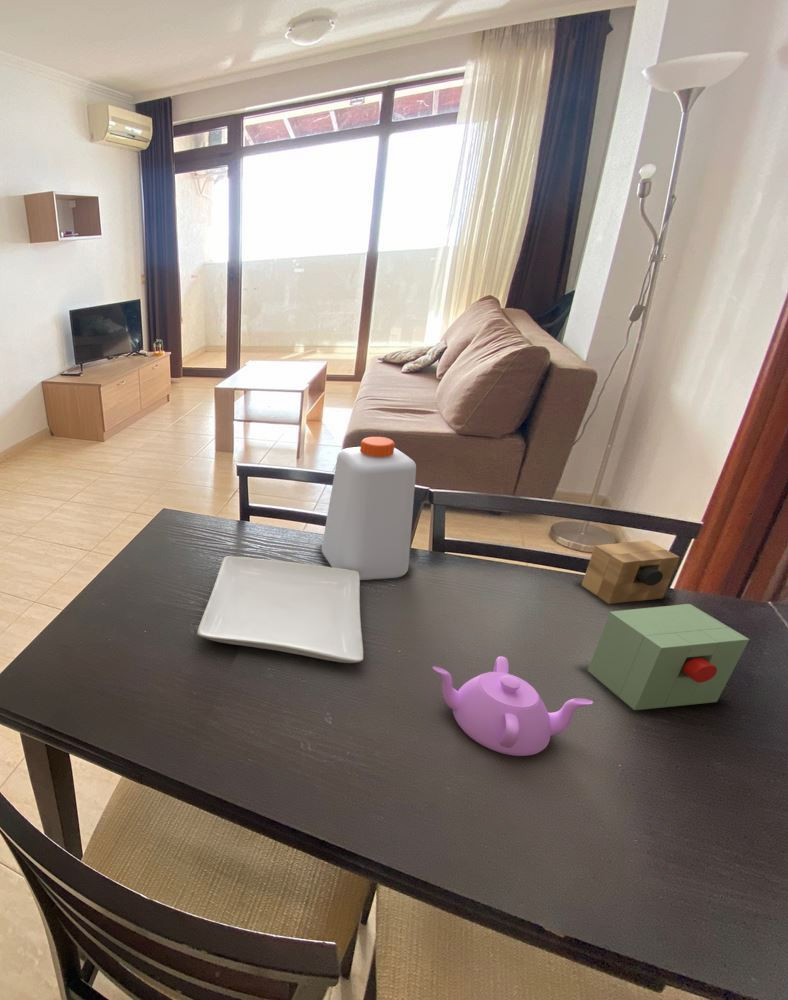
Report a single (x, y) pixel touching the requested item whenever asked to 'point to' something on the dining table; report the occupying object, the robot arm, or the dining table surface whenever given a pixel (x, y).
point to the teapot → (505, 711)
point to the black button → (650, 576)
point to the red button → (699, 670)
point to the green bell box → (664, 655)
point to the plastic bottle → (371, 510)
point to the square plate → (286, 608)
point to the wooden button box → (628, 571)
